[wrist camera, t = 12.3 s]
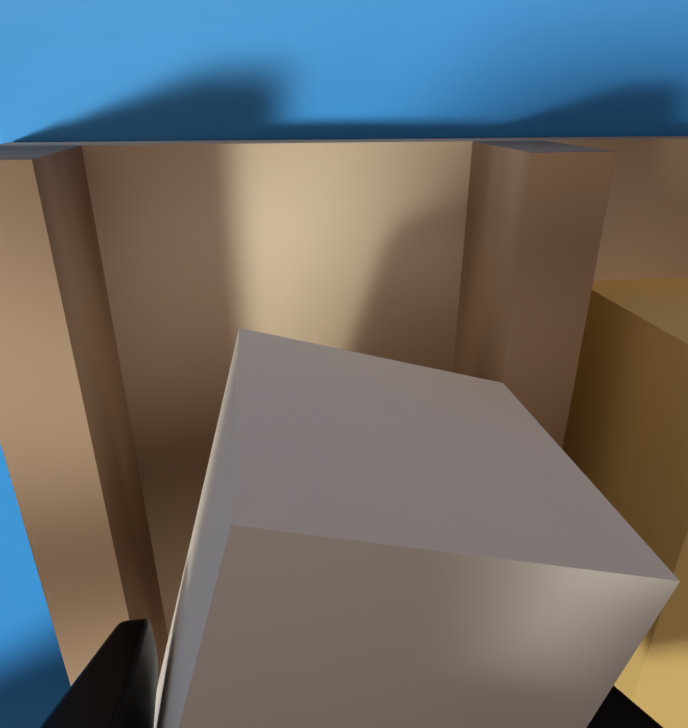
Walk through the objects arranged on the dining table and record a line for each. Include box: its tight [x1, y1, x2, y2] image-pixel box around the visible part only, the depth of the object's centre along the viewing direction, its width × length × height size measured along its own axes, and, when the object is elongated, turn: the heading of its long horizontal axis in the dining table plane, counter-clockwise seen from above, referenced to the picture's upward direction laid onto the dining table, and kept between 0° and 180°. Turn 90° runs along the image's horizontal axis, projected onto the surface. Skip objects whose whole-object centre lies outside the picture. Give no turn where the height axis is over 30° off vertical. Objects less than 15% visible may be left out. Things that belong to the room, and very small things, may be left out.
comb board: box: [0, 136, 688, 686], centre depth 12 cm, size 13×16×3 cm
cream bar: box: [154, 328, 680, 728], centre depth 8 cm, size 8×4×4 cm, turn 164°
